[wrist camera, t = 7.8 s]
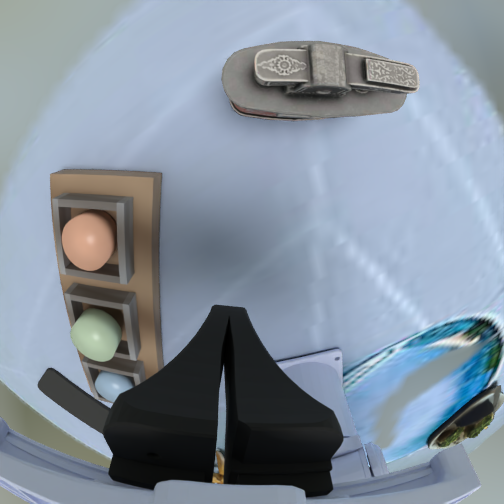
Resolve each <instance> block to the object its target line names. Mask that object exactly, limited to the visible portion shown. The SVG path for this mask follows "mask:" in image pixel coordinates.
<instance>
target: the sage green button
mask: <svg viewBox="0 0 504 504" xmlns="http://www.w3.org/2000/svg"><path fill="white" fill-rule="evenodd" d="M70 334H71V339H72V342H73V344H74V345H75V347H76V348H77V349H78V350H79V351H80V352H81V353H82V354H83V355H85V356H86V357H88V358H90V359H92V360H95V361H100V362H104V361H108V360H110V359H111V358H112V357H113V355H114V353H115V351H116V349H117V347H118V345H119V343H120V341H121V338H122V331H121V328H120V326H119V324H118V323H117V321H116V320H115V319H114V318H113V317H112V316H111V315H109V314H108V313H106V312H105V311H103V310H100V309H95V308H91V309H87V310H85V311H84V312H83V313H82V314H81V315H80V317H79V318H78V320H77V321H76V323H75V324H74V325H73V327H72V329H71V333H70Z"/></svg>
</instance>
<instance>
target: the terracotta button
mask: <svg viewBox="0 0 504 504" xmlns="http://www.w3.org/2000/svg"><path fill="white" fill-rule="evenodd" d="M62 245H63V249H64V251H65V254H66V255H67V257H68V258H69V260H70V261H71V262H72V263H73V264H74V265H75V266H77V267H79V268H81V269H83V270H87V271H94V270H97V269H99V268H101V267H102V266H103V265H104V264H105V263H106V262H107V261H108V259H109V258H110V257H111V256H112V255H113V254H114V253H115V251H116V250H117V248H118V243H117V225H116V223H115V222H114V220H113V219H112V218H111V217H110V216H109V215H108V214H107V213H105V212H104V211H102V210H99V209H88V210H86V211H84V212H82V213H81V214H79V215H78V216H76V217H74V218H73V219H71V220H70V221H69V222H68V223H67V224H66V225H65V227H64V229H63V232H62Z"/></svg>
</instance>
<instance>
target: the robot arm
mask: <svg viewBox="0 0 504 504" xmlns="http://www.w3.org/2000/svg"><path fill="white" fill-rule="evenodd" d="M336 357H337V358H336ZM223 366H224V374H225V393H226V433H225V456H224V477H223V484H214V483H212V482H213V473H214V462H215V452H216V442H217V427H218V402H219V388H220V383H221V377H222V371H223ZM102 432H103V435H104V438H105V440H106V442H107V444H108V446H109V448H110V450H111V451H112V453H113V457H112V461H111V464H110V468H106V467H103V466H99V465H96V464H93V463H90V462H87V461H84V460H81V459H78V458H75V457H72V456H70V455H67V454H65V453H62V452H59V451H57V450H55V449H52V448H50V447H47V446H45V445H43V444H41V443H38V442H36V441H34V440H32V439H29V438H28V437H26V436H24V435H22V434H20V433H18V432H16V431H14V430H12V429H10V428H9V426H8V425H7V423H6V422H5V421H4V420H3V418H2V417H0V486H2V487H3V488H5V489H6V490H8V491H10V492H11V493H13V494H14V495H16V496H18V497H19V498H21V499H23V500H25V501H26V502H28V503H30V504H457V503H458V502H460V501H461V500H463V499H464V498H466V497H467V496H469V495H470V494H472V493H473V492H474V491H476V490H477V489H479V488H480V487H481V483H480V481H479V479H478V477H477V474H476V472H475V470H474V468H473V465H472V463H471V461H470V459H469V457H468V455H467V453H466V451H465V449H464V447H463V445H462V444H458V445H455V446H453V447H450V448H447V449H445V450H442V451H441V452H439V453H438V454H436V455H435V456H434V457H433V458H432V459H431V460H430V462H427V463H423V464H420V465H417V466H414V467H410V468H407V469H403V470H400V471H396V472H392V473H389V471H388V468H387V465H386V462H385V459H384V456H383V453H382V451H381V449H380V447H379V446H378V445H375V444H373V443H372V442H369V443H367V444H364V445H365V448H366V452H367V458H368V461H369V465H370V467H369V466H368V462H367V459H366V456H365V452H364V449H363V446H362V443H361V440H360V436H359V435H358V433H357V430H356V427H355V424H354V421H353V418H352V414H351V411H350V408H349V405H348V402H347V399H346V396H345V393H344V390H343V367H342V352H341V350H340V349H334V350H330V351H326V352H322V353H317V354H313V355H309V356H304V357H300V358H295V359H290V360H285V361H280V362H275V361H274V360H273V358H272V357H271V356H270V354H269V353H268V351H267V350H266V348H265V347H264V345H263V344H262V342H261V341H260V339H259V337H258V335H257V333H256V332H255V330H254V328H253V326H252V324H251V321H250V319H249V317H248V314H247V311H246V309H245V308H243V307H233V306H223V305H214V306H212V308H211V311H210V313H209V315H208V317H207V318H206V320H205V322H204V323H203V325H202V326H201V328H200V329H199V331H198V332H197V333H196V335H195V336H194V337H193V338H192V340H191V341H190V342H189V343H188V345H187V346H186V347H185V348H184V349H183V350H182V351H181V352H180V353H179V354H178V355H177V356H176V357H175V358H174V359H173V360H172V361H171V362H169V363H168V364H167V365H166V366H165V367H163V368H162V369H161V370H160V371H158V372H157V373H155V374H154V375H152V376H151V377H149V378H148V379H146V380H145V381H143V382H142V383H140V384H138V385H136V386H134V387H133V388H131V389H129V390H127V391H125V392H123V393H120V394H119V395H118V397H117V399H116V400H115V402H114V403H113V405H112V407H111V409H110V411H109V413H108V416H107V419H106V422H105V425H104V428H103V431H102Z"/></svg>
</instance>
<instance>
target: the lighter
mask: <svg viewBox="0 0 504 504" xmlns="http://www.w3.org/2000/svg"><path fill="white" fill-rule="evenodd" d="M222 84H223V88H224V91H225V93H226V94H227V96H228V98H229V100H230V104H231V106H232V108H233V109H234V111H235V112H237V113H238V114H239V115H242V116H245V117H253V118H260V119H267V120H284V121H302V120H319V119H325V118H337V117H347V116H365V115H373V114H383V113H392V112H394V111H397V110H399V109H400V108H401V107H402V106H403V104H404V102H405V99H406V96H407V94H408V93H415V92H417V91H418V89H419V75H418V71H417V70H416V68H415V67H414V66H413V65H410V64H408V63H403V62H399V61H394V60H390V59H388V58H385V57H383V56H380V55H377V54H374V53H372V52H369V51H366V50H363V49H359V48H356V47H352V46H346V45H341V44H335V43H329V42H322V41H288V42H276V43H270V44H265V45H259V46H254V47H249V48H244V49H241V50H239V51H237V52H234V53H233V54H232V55H231V56H230V57H229V58H228V59H227V61H226V63H225V65H224V67H223V70H222Z"/></svg>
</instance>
